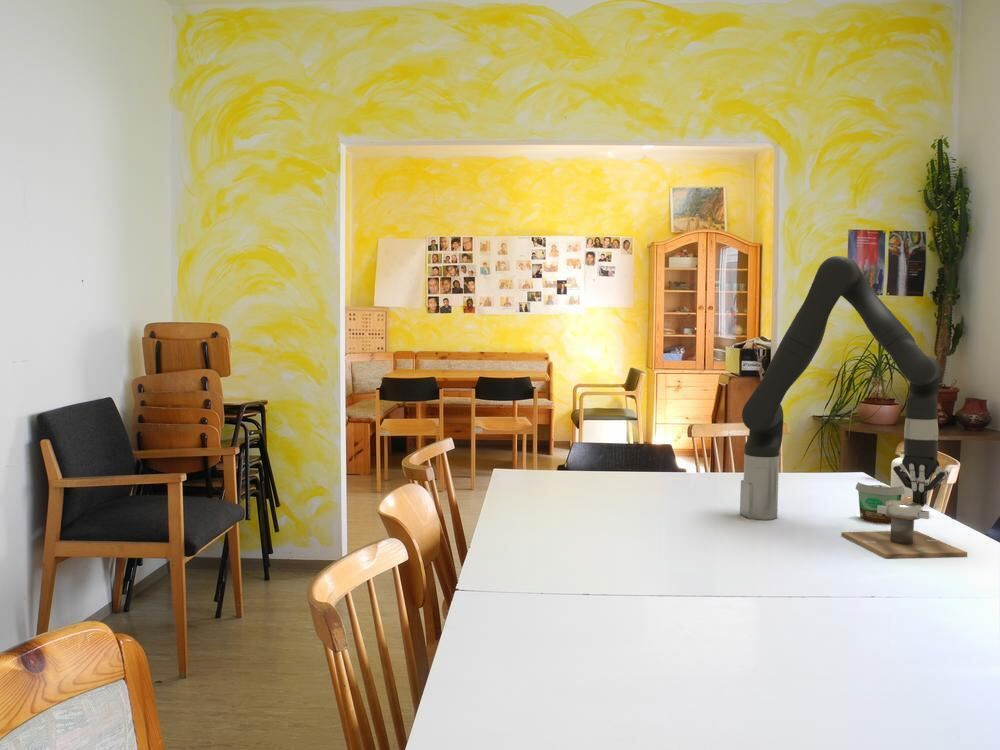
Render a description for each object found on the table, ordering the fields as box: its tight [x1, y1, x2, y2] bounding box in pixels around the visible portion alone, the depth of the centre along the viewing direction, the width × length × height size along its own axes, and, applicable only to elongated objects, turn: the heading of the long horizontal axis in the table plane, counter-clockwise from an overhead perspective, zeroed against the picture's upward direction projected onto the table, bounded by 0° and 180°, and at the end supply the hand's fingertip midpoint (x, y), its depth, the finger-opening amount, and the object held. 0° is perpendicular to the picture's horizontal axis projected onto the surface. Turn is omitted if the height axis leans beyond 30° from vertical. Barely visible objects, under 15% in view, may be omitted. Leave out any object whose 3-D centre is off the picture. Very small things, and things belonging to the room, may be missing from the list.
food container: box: [855, 481, 905, 524], centre depth 228 cm, size 12×6×10 cm, turn 62°
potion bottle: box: [890, 449, 923, 510], centre depth 237 cm, size 8×8×18 cm
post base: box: [840, 518, 968, 559], centre depth 203 cm, size 20×20×7 cm
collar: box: [877, 496, 930, 521], centre depth 207 cm, size 16×11×3 cm
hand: (919, 506), depth 208 cm, fingers closed
